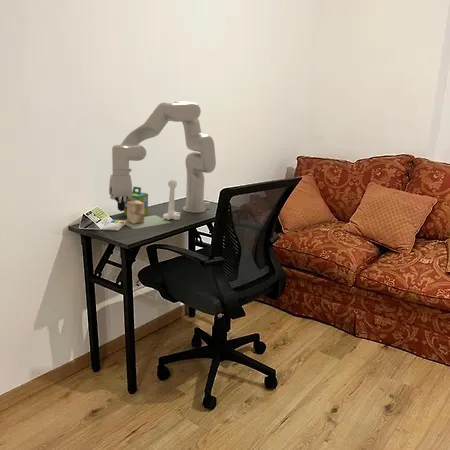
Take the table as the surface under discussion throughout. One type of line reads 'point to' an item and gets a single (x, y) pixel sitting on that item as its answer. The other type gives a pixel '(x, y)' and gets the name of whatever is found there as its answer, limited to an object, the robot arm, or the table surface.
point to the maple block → (135, 212)
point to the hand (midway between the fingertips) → (121, 210)
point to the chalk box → (140, 197)
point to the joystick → (171, 203)
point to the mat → (148, 222)
